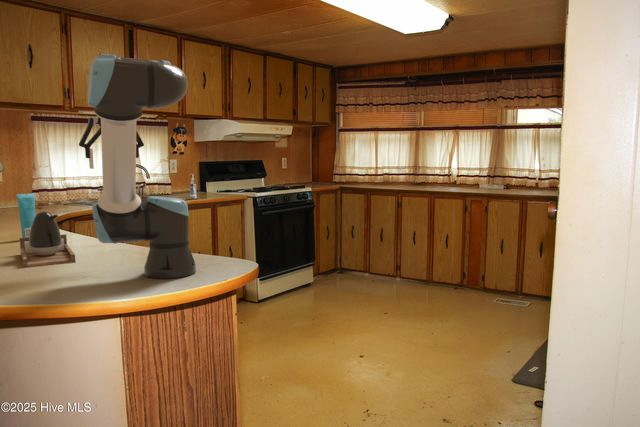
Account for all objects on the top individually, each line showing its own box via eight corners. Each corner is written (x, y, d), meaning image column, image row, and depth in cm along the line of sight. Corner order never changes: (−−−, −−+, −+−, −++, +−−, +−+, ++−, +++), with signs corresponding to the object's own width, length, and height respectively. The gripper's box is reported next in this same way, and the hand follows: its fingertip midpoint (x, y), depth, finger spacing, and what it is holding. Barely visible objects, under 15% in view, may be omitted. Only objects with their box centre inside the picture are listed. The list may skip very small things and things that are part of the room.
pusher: (64, 249, 191) (63, 238, 190) (25, 253, 184) (24, 242, 184) (62, 246, 198) (61, 235, 197) (24, 249, 191) (23, 238, 191)
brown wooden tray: (75, 262, 176) (74, 244, 175) (24, 267, 168) (22, 248, 167) (66, 250, 196) (66, 234, 195) (20, 254, 188) (19, 237, 187)
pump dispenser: (49, 258, 178) (46, 214, 175) (22, 256, 180) (19, 212, 177) (69, 251, 187) (66, 209, 185) (43, 249, 189) (41, 208, 187)
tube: (33, 237, 222) (30, 192, 220) (41, 238, 220) (38, 193, 218) (16, 240, 216) (13, 194, 213) (24, 241, 214) (20, 194, 211)
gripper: (145, 106, 183) (148, 167, 186) (67, 102, 170) (70, 168, 172) (151, 104, 177) (154, 167, 179) (70, 100, 163) (74, 169, 166)
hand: (113, 168), depth 176 cm, fingers open, 13 cm apart
